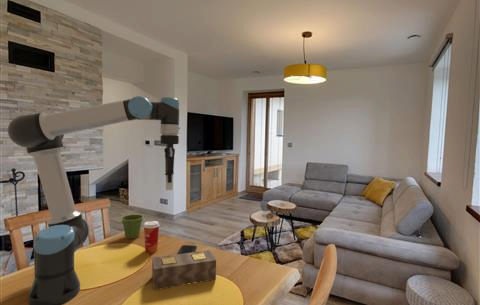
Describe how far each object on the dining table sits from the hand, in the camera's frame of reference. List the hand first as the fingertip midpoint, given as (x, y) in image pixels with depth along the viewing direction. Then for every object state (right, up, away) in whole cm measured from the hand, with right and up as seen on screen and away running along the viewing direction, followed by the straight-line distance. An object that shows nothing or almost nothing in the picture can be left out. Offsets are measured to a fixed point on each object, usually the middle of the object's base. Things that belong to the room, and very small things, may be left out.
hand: (169, 189), depth 116 cm
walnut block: (+8, -35, -6) cm, 36 cm away
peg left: (+2, -34, -9) cm, 35 cm away
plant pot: (-30, -32, +36) cm, 56 cm away
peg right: (+13, -34, -4) cm, 37 cm away
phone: (+4, -34, +17) cm, 38 cm away
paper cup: (-14, -33, +19) cm, 40 cm away
